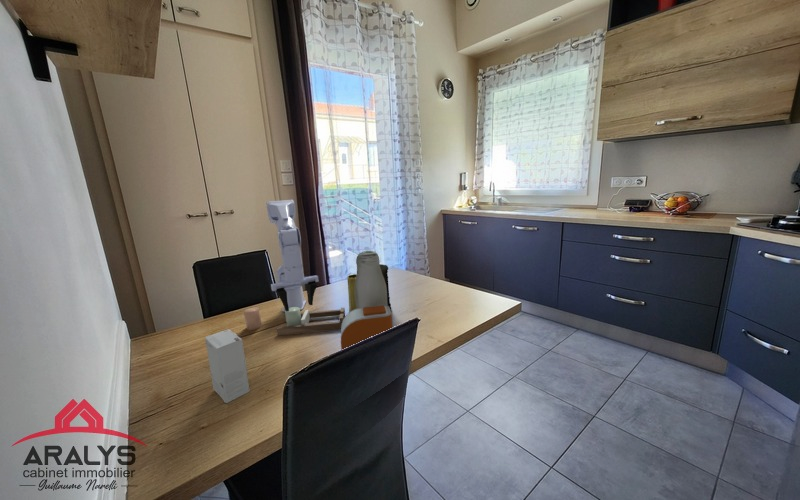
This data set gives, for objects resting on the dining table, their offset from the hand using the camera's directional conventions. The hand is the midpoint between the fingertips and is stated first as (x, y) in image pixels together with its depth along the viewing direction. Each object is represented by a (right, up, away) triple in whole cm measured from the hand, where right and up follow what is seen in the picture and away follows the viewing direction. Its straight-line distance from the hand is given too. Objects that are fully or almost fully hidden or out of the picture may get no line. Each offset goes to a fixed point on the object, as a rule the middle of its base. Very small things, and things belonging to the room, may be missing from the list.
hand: (299, 307), depth 98 cm
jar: (-20, -9, +11) cm, 25 cm away
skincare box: (-9, -17, -23) cm, 30 cm away
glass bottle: (+24, -9, +3) cm, 26 cm away
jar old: (-5, -9, +10) cm, 14 cm away
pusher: (+6, -8, +11) cm, 15 cm away
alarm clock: (+23, -12, -8) cm, 28 cm away
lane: (+1, -8, +11) cm, 14 cm away
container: (+25, -5, +19) cm, 32 cm away
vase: (+16, -5, +21) cm, 27 cm away
